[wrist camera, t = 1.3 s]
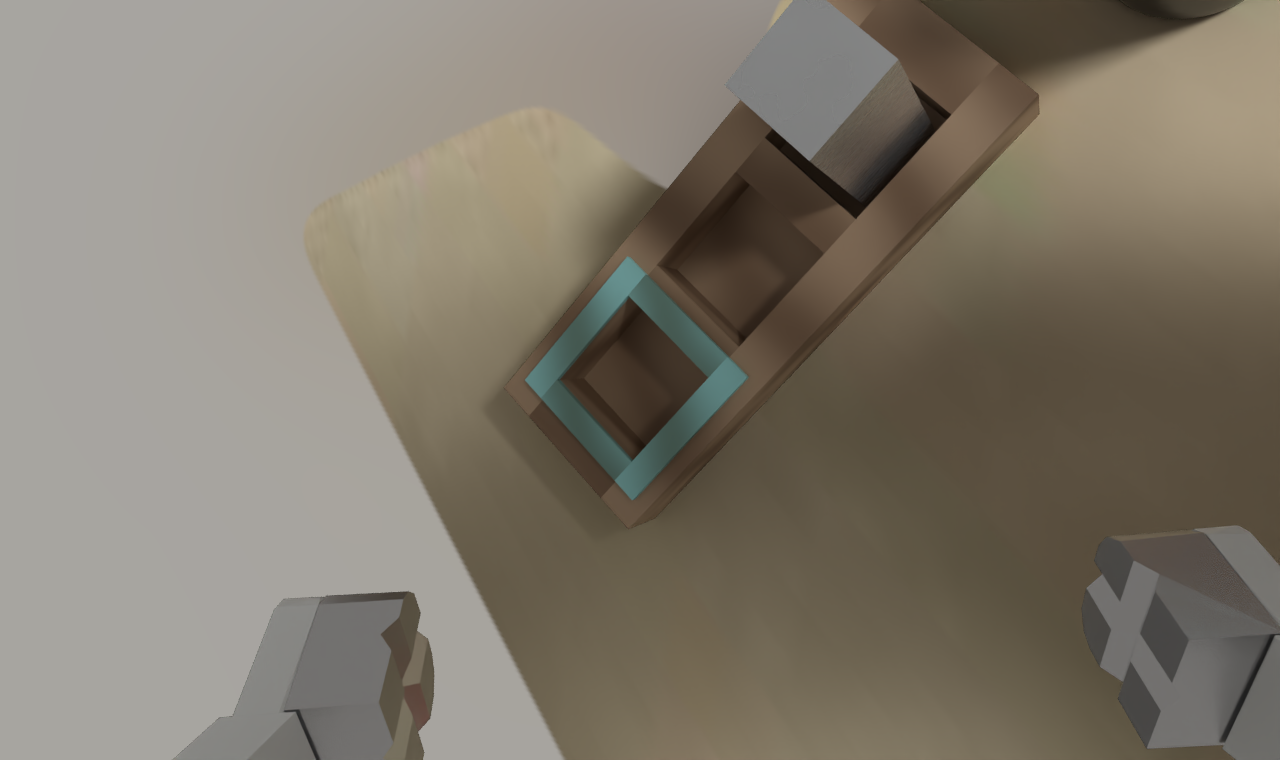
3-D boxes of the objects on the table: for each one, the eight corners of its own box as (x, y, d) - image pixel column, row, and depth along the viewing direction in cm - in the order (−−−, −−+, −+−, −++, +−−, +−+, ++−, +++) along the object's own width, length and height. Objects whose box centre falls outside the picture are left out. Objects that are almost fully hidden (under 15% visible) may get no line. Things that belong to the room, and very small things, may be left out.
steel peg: (864, 72, 39) (806, -16, 29) (935, 131, 37) (898, 59, 28) (799, 147, 40) (724, 85, 31) (866, 206, 39) (809, 161, 29)
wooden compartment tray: (873, -18, 39) (859, -49, 36) (1039, 113, 36) (1038, 92, 33) (536, 385, 46) (500, 387, 43) (654, 518, 44) (625, 530, 41)
